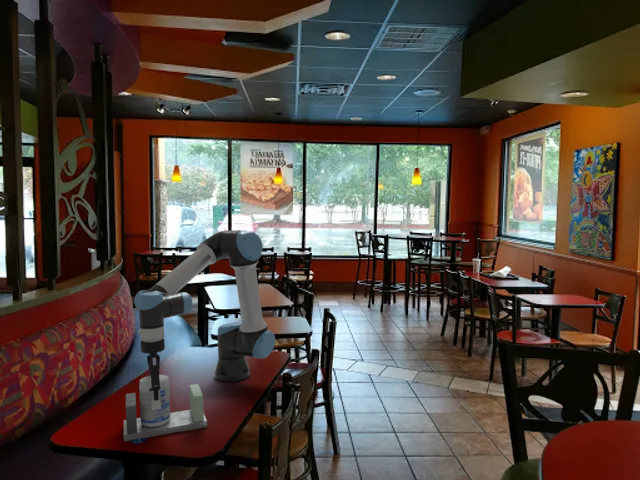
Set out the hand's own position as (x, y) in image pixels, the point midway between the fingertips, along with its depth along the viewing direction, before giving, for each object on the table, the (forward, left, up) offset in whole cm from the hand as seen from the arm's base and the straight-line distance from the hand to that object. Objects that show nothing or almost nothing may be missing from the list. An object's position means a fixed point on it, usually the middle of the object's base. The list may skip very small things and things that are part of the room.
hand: (155, 401), depth 165 cm
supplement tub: (0, 0, -7) cm, 7 cm away
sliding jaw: (-13, 0, -7) cm, 15 cm away
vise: (-3, 0, -9) cm, 10 cm away
